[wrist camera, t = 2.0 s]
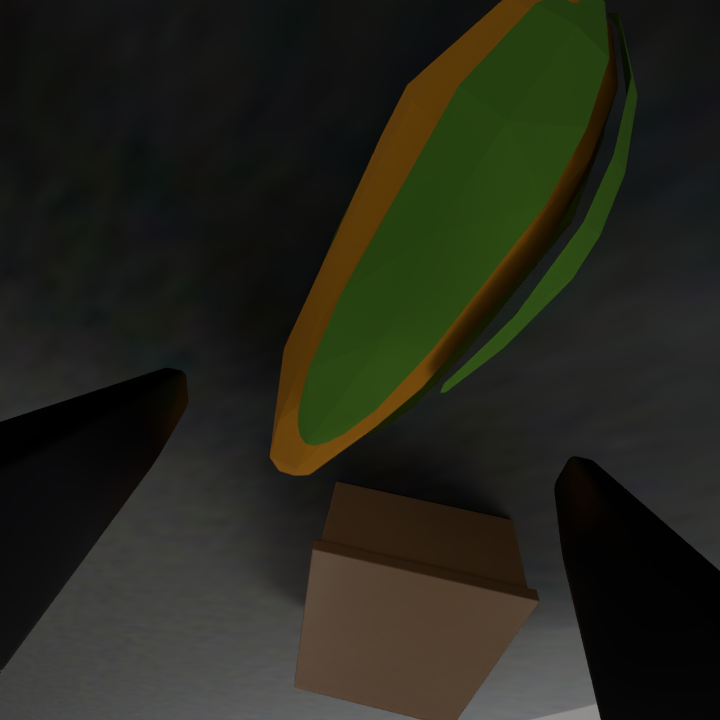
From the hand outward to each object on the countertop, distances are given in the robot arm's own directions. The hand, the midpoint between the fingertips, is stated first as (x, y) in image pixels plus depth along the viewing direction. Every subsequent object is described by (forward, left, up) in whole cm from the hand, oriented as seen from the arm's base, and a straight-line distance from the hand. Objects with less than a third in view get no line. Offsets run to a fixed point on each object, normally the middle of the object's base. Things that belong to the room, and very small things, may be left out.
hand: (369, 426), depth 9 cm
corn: (0, 0, -10) cm, 10 cm away
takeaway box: (-4, +21, -10) cm, 24 cm away
